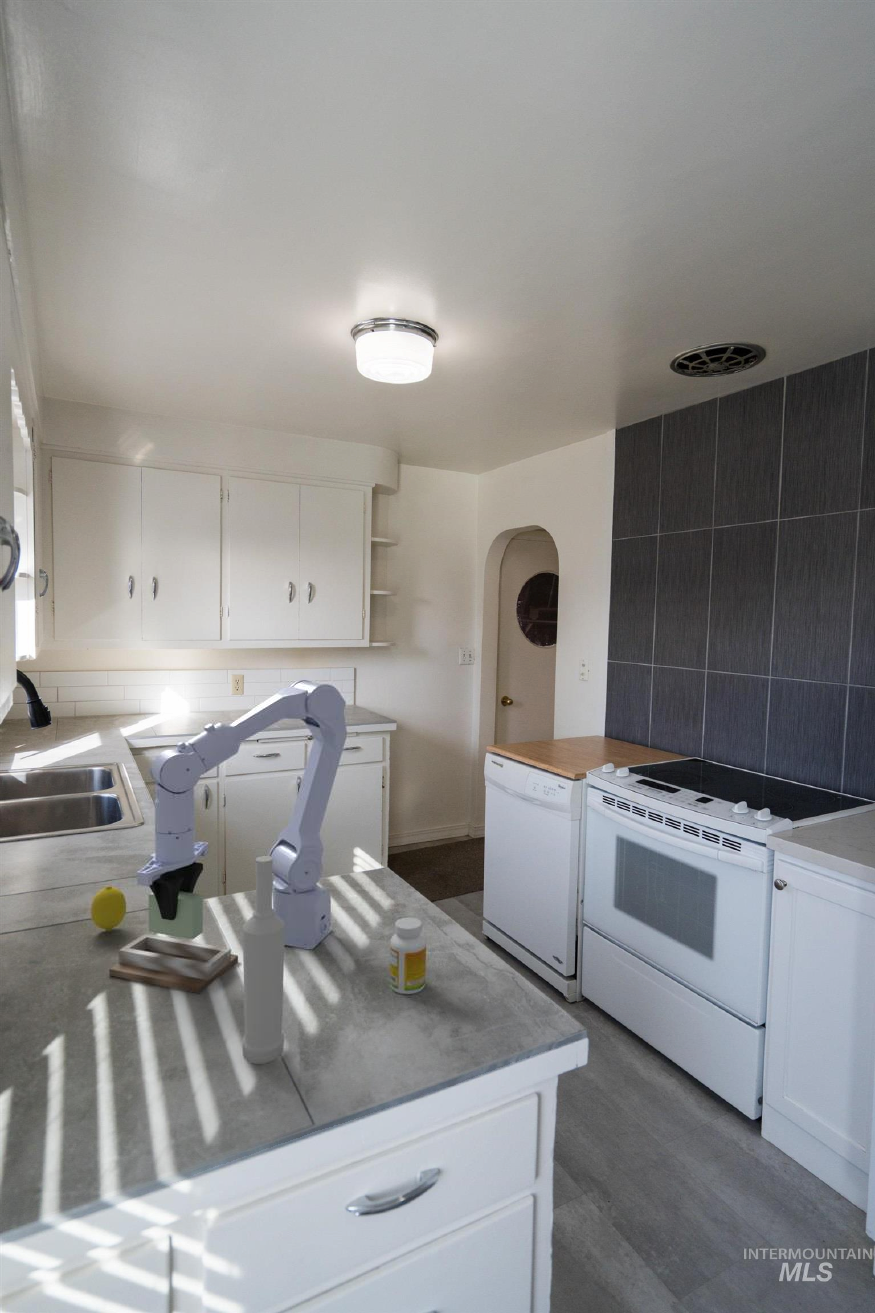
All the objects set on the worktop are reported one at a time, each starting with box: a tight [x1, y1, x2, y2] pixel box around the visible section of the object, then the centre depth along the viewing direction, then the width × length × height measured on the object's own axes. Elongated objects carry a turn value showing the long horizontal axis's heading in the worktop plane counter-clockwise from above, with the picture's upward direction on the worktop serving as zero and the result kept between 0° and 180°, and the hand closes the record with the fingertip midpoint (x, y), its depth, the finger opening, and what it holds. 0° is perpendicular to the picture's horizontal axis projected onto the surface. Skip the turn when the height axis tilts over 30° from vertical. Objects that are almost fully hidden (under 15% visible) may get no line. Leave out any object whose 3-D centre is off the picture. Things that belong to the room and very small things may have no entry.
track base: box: [108, 933, 239, 994], centre depth 108 cm, size 16×10×3 cm, turn 73°
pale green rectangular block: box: [148, 891, 204, 940], centre depth 108 cm, size 8×2×6 cm, turn 73°
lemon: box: [90, 885, 127, 932], centre depth 120 cm, size 6×6×8 cm
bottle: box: [242, 855, 285, 1065], centre depth 87 cm, size 5×5×25 cm
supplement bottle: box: [389, 917, 427, 995], centre depth 104 cm, size 5×5×10 cm
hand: (175, 914), depth 108 cm, fingers closed on pale green rectangular block, 2 cm apart
